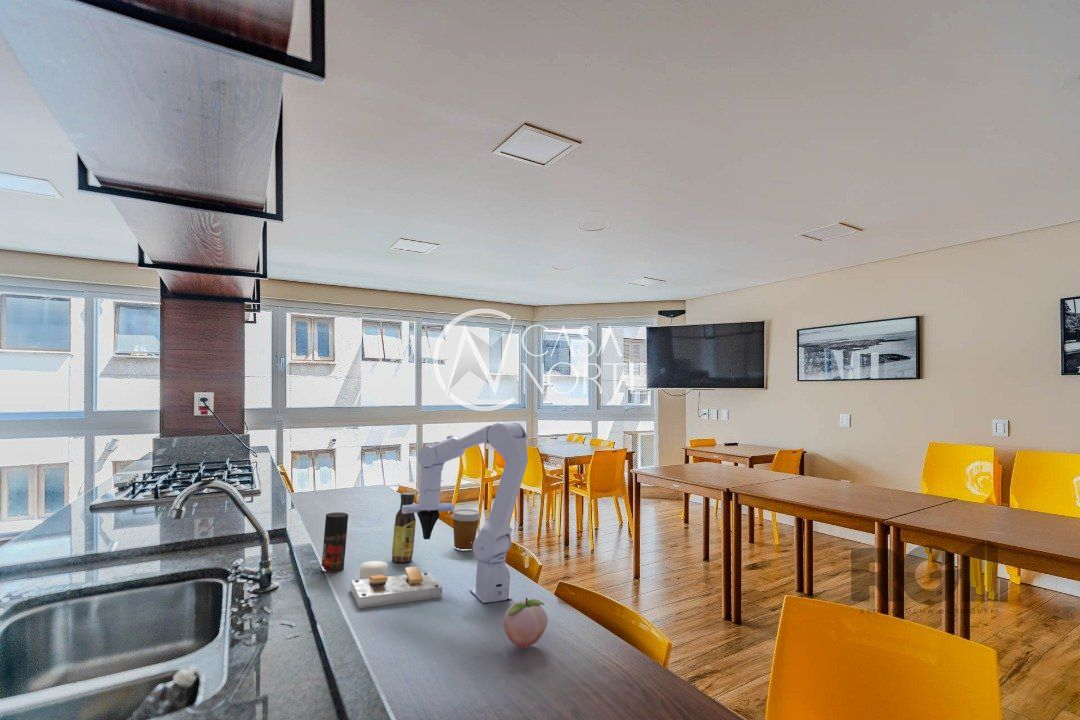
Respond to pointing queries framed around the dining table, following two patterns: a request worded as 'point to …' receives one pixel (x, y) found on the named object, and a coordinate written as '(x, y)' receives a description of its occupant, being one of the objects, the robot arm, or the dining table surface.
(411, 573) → the paddle
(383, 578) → the paddle
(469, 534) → the disposable coffee cup
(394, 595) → the breaker panel
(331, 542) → the deodorant
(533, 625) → the decorative fruit
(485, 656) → the dining table surface
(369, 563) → the white egg-shaped stone
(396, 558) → the sauce bottle
